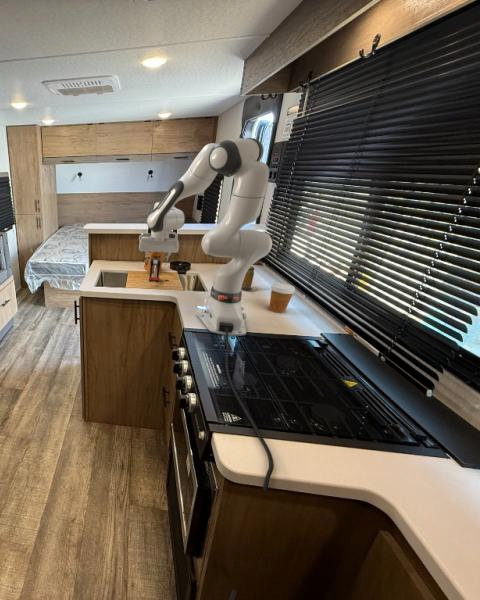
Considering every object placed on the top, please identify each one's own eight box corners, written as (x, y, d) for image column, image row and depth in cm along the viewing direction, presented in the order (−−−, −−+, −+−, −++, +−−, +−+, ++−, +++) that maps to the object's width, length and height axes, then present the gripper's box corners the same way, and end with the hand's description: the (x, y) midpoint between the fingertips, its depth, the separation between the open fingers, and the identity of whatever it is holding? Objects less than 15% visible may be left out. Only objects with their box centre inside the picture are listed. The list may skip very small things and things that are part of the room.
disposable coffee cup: (261, 309, 144) (268, 285, 139) (270, 304, 150) (276, 281, 145) (284, 316, 137) (291, 291, 133) (291, 310, 143) (299, 286, 138)
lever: (159, 281, 167) (159, 278, 165) (149, 280, 168) (150, 278, 166) (159, 262, 174) (160, 259, 172) (150, 262, 175) (151, 259, 173)
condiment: (241, 284, 174) (245, 264, 169) (256, 288, 168) (261, 268, 163) (235, 287, 170) (239, 267, 165) (250, 292, 164) (255, 270, 159)
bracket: (161, 286, 172) (164, 263, 166) (145, 285, 173) (147, 262, 168) (160, 280, 182) (163, 257, 176) (145, 279, 183) (147, 256, 178)
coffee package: (147, 275, 190) (150, 240, 181) (142, 269, 201) (145, 235, 192) (162, 275, 190) (166, 239, 181) (157, 268, 201) (161, 235, 192)
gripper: (139, 234, 155) (137, 260, 161) (180, 235, 152) (177, 262, 157) (139, 232, 161) (137, 257, 166) (179, 233, 157) (176, 259, 163)
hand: (157, 260), depth 162 cm, fingers open, 8 cm apart
